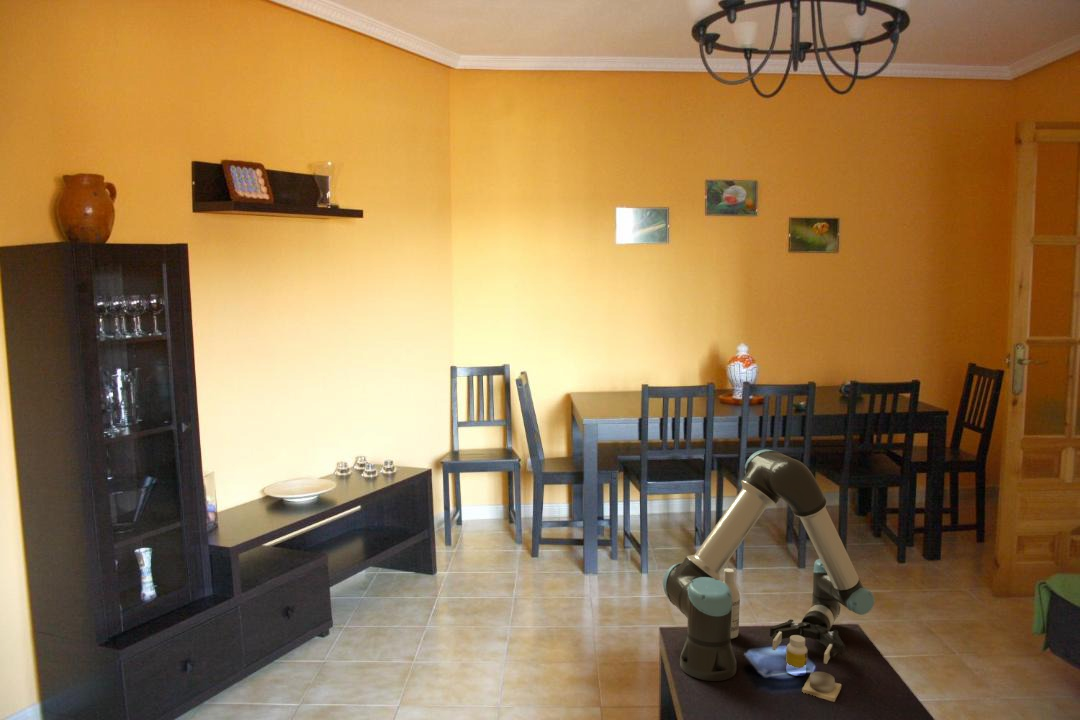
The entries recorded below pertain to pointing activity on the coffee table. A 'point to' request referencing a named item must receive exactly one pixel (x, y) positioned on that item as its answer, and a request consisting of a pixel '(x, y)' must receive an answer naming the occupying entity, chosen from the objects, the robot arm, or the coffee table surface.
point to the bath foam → (735, 599)
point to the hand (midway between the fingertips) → (799, 652)
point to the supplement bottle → (796, 651)
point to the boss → (822, 686)
